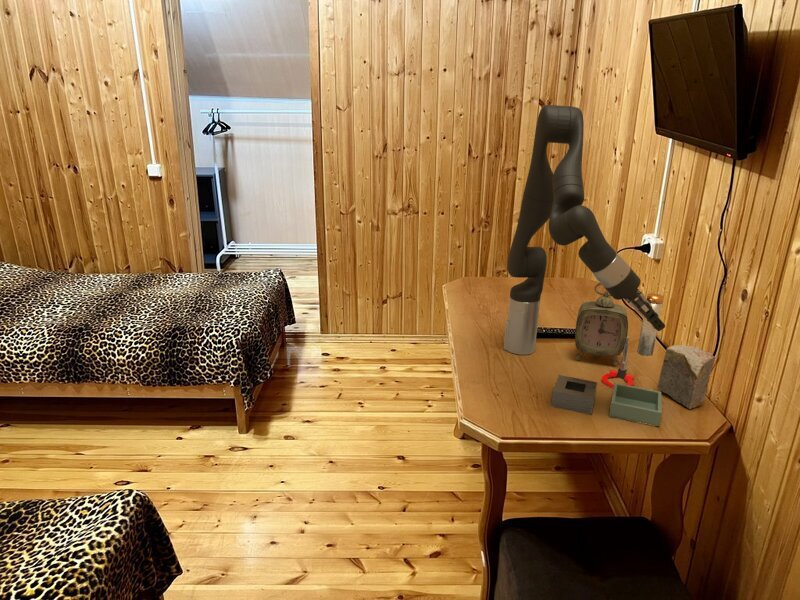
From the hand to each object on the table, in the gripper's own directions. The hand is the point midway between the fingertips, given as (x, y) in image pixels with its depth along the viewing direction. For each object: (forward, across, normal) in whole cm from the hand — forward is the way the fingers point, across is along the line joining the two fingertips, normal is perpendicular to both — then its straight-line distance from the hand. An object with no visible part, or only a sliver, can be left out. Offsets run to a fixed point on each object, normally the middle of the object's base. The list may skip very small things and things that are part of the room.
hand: (658, 325), depth 139 cm
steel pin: (+4, 0, +7) cm, 8 cm away
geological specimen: (+26, +8, +8) cm, 28 cm away
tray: (+16, 0, +18) cm, 24 cm away
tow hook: (+16, +16, +18) cm, 29 cm away
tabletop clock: (+14, +30, +20) cm, 39 cm away
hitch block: (+5, +3, +29) cm, 29 cm away
